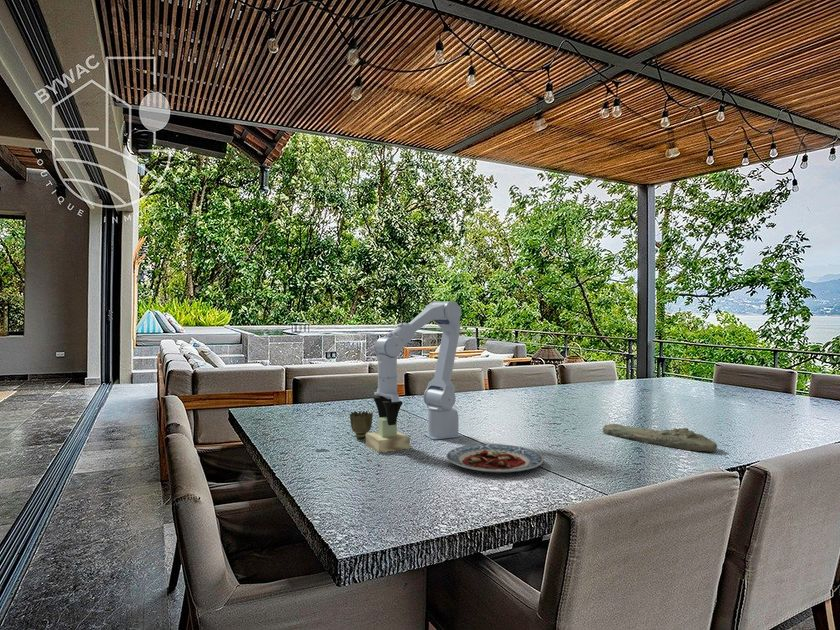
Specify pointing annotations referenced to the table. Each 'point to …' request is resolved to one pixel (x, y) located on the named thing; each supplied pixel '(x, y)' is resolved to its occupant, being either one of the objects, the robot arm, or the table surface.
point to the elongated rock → (663, 437)
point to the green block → (386, 428)
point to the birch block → (387, 442)
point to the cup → (361, 423)
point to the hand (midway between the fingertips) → (387, 422)
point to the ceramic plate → (495, 458)
